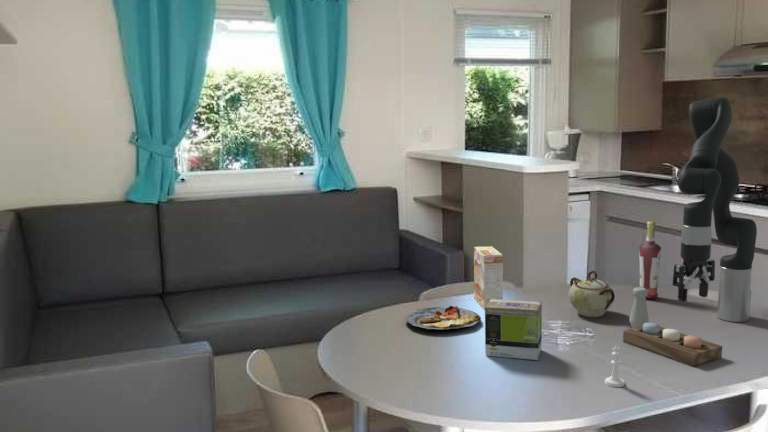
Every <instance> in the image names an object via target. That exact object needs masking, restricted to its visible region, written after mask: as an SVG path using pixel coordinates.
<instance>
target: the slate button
mask: <svg viewBox="0 0 768 432" xmlns="http://www.w3.org/2000/svg"><path fill="white" fill-rule="evenodd" d="M659 327H661V326H660V324H659V323H655V322H649V323H643V333H646V334H649V335H652V336H653V335H657V334H659Z"/></svg>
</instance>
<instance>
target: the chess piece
mask: <svg viewBox="0 0 768 432" xmlns="http://www.w3.org/2000/svg"><path fill="white" fill-rule="evenodd" d="M611 350H612V351H613V352H611V353H610V354H611V357H612V360H611V362H610V363H611V365H612V371H611V375H610V376H609V377H606V378H605V379H604V384H605V385H606V386H609V387H612V388H621V387H624V386H626V385H625V384H626V383H625V380H624V379H623V378H621V377H620V376H619V370H618V365H620V364H621V363H620V361H619V357H620V352H619V351H620V347H618V345H614V347H612V348H611Z"/></svg>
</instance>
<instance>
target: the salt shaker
mask: <svg viewBox="0 0 768 432" xmlns="http://www.w3.org/2000/svg"><path fill="white" fill-rule="evenodd" d="M647 293H648V292H647V290H646V289H645V288H642V287H640V286H637V287H634V288H633V290H632V295H633V296H634V300H633V303H632V308H631V310H630V314H629V315H630V316H629V319H628V320H629V324H630V326H631V328H635V327H639V326H643V323H650V320H649V313H648V305H647V301H646V300H647V299H646V298H645V296H647Z"/></svg>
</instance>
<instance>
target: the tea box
mask: <svg viewBox="0 0 768 432" xmlns="http://www.w3.org/2000/svg"><path fill="white" fill-rule="evenodd" d="M542 305H543V303H542V301H538V300H521V299H520V300H519V299H504V298H503V299H491V300H490V301H489V303H488V304H487V306H486V307H485V310H484V337H485V338H484V341H485V342H484V344H485V346H484V349H485V350H484V351H485V356H487V357H498V358H509V359H521V360H532V361H538V360H539V357H540V354H541V351H542V346H543V345H542V341H543V340H542V339H543V336H542V335H543V333H542V332H543V331H542V329H543V327H542V323H543V322H542V318H543V317H542V315H543V314H542V309H543V308H542Z"/></svg>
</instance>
